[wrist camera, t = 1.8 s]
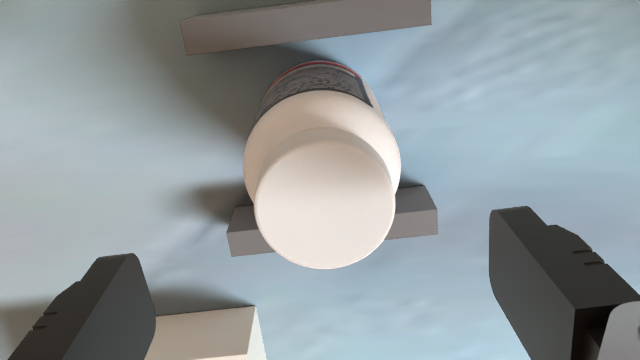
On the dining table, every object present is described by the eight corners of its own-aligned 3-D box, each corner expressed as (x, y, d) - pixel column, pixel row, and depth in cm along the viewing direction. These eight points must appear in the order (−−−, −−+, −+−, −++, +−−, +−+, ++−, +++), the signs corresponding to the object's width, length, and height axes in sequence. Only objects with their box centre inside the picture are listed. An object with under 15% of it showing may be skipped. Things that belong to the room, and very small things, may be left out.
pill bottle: (235, 107, 22) (187, 189, 13) (332, 33, 20) (344, 74, 12) (308, 195, 23) (305, 316, 15) (401, 131, 22) (453, 226, 14)
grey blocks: (416, -13, 20) (430, -11, 17) (425, 208, 24) (437, 234, 21) (195, 15, 20) (179, 21, 18) (239, 229, 24) (231, 256, 22)
